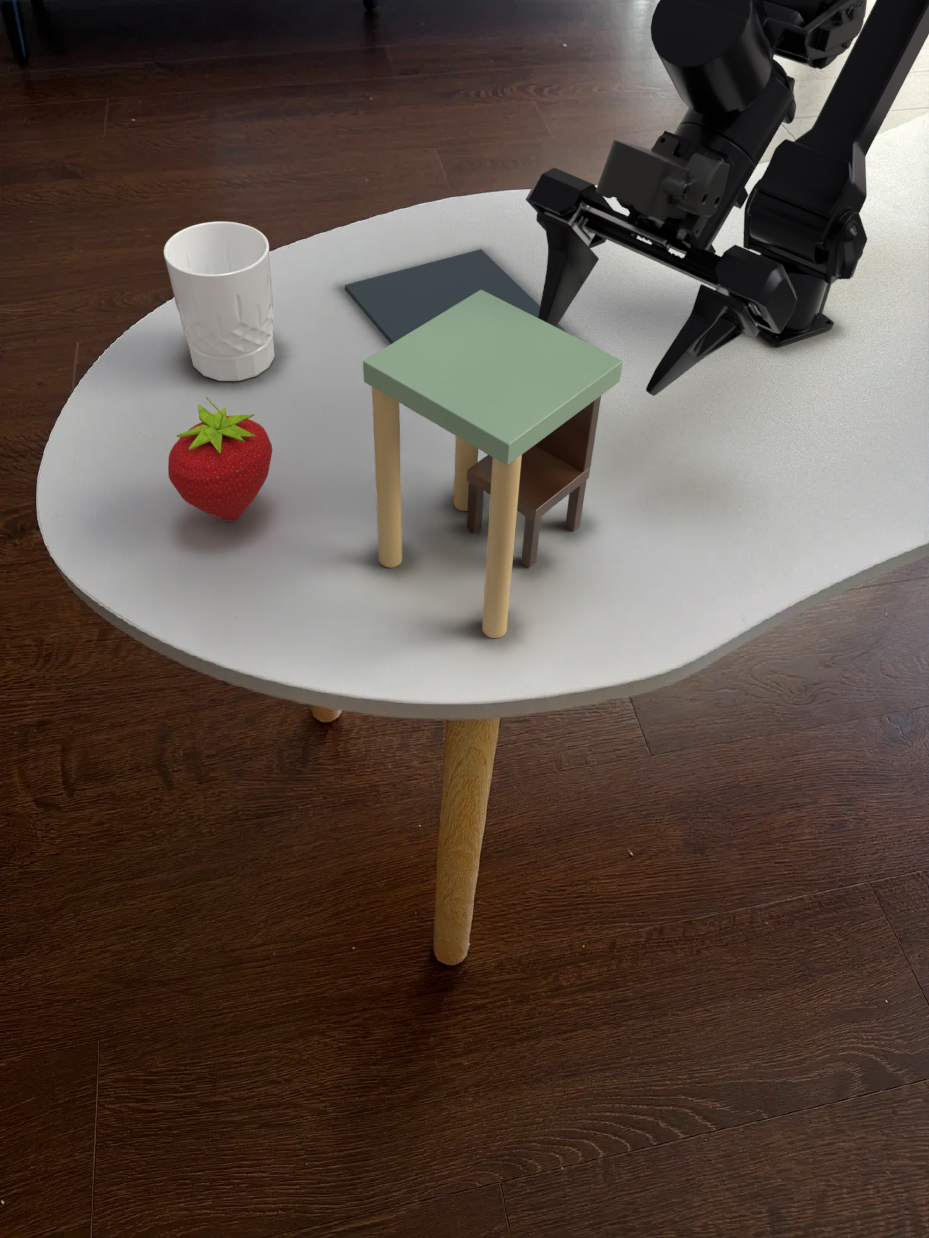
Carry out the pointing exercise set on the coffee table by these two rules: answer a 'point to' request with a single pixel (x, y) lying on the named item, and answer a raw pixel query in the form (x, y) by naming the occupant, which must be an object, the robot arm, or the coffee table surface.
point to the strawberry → (220, 463)
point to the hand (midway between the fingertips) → (593, 364)
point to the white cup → (223, 297)
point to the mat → (434, 292)
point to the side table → (480, 413)
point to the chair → (543, 478)
